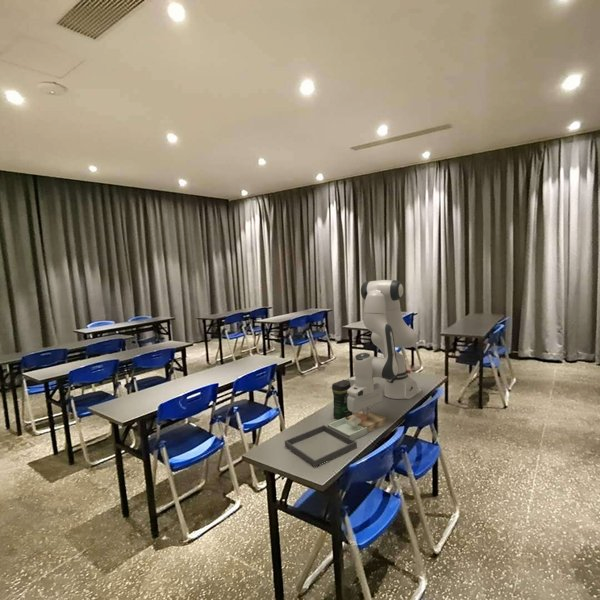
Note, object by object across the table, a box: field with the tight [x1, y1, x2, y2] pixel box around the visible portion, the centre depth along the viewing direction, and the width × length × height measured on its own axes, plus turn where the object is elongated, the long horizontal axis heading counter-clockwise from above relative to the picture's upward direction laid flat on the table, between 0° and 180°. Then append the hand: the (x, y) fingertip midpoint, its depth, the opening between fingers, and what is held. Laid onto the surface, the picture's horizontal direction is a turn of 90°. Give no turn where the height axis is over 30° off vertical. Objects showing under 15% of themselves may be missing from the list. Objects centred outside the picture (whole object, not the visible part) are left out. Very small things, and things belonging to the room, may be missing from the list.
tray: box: [327, 418, 368, 441], centre depth 167 cm, size 11×15×3 cm
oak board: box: [346, 410, 388, 434], centre depth 174 cm, size 13×14×3 cm
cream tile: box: [349, 416, 361, 426], centre depth 170 cm, size 4×4×2 cm
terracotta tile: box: [355, 413, 367, 422], centre depth 172 cm, size 4×4×2 cm
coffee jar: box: [331, 379, 353, 420], centre depth 183 cm, size 10×8×19 cm
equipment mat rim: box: [284, 424, 358, 468], centre depth 156 cm, size 22×22×2 cm
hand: (366, 415), depth 174 cm, fingers closed
